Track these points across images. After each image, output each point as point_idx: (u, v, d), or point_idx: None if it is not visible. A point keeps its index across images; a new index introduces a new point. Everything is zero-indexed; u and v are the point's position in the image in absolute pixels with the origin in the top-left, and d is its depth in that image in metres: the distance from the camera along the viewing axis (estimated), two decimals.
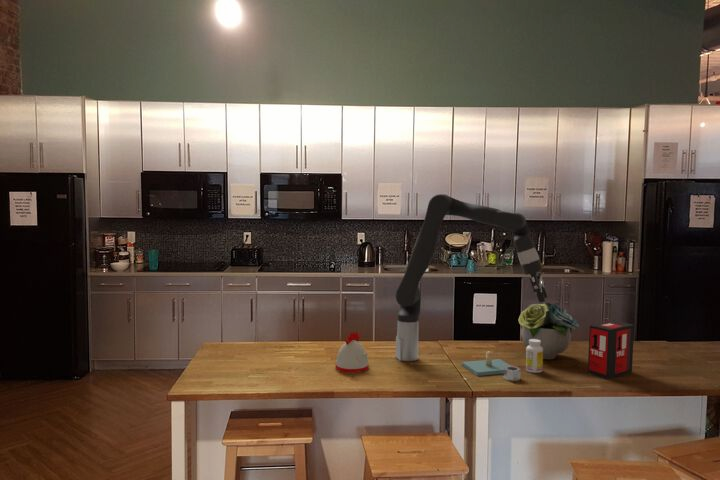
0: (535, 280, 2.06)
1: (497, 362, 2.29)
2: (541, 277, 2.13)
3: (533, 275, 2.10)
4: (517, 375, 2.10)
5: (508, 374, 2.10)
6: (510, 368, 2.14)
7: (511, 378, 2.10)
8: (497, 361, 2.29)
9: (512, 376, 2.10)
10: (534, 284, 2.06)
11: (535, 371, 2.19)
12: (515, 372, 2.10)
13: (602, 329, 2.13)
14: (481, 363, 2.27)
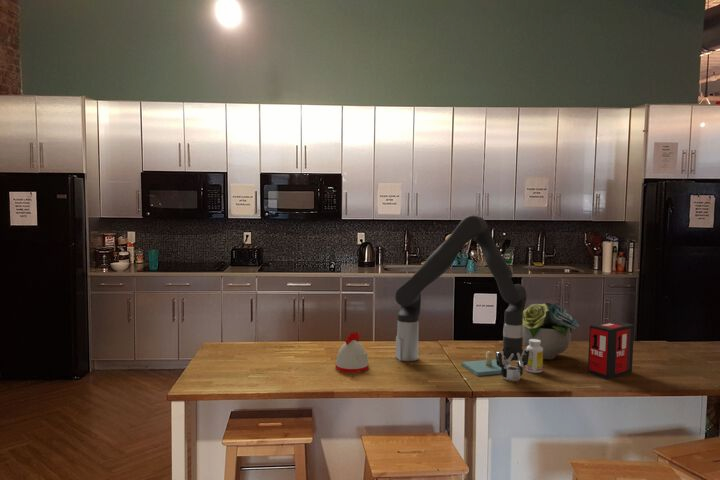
0: (498, 356, 2.10)
1: None
2: (516, 354, 2.10)
3: (504, 349, 2.11)
4: (517, 375, 2.10)
5: (508, 374, 2.10)
6: (510, 368, 2.14)
7: (511, 378, 2.10)
8: None
9: (512, 376, 2.10)
10: (497, 359, 2.11)
11: (535, 371, 2.19)
12: (515, 372, 2.10)
13: (602, 329, 2.13)
14: (481, 363, 2.27)
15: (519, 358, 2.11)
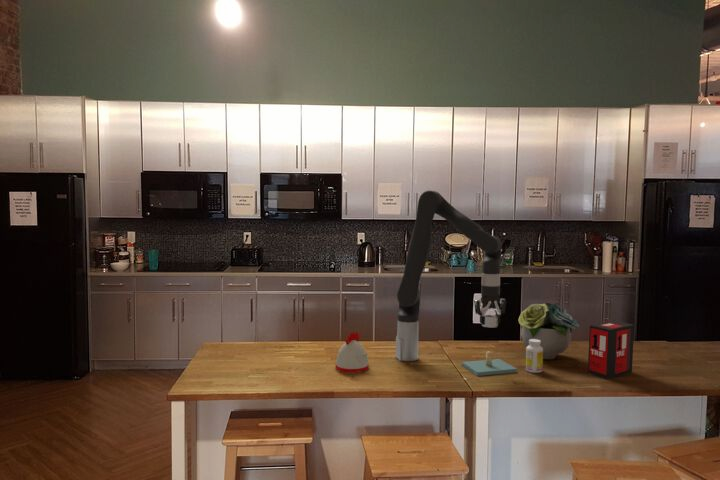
0: (476, 304, 2.20)
1: (497, 362, 2.29)
2: (494, 302, 2.21)
3: (482, 297, 2.21)
4: (494, 322, 2.20)
5: (486, 321, 2.21)
6: (488, 316, 2.25)
7: (489, 325, 2.20)
8: (497, 361, 2.29)
9: (490, 323, 2.20)
10: (475, 307, 2.21)
11: (535, 371, 2.19)
12: (492, 319, 2.20)
13: (602, 329, 2.13)
14: (481, 363, 2.27)
15: (496, 306, 2.21)
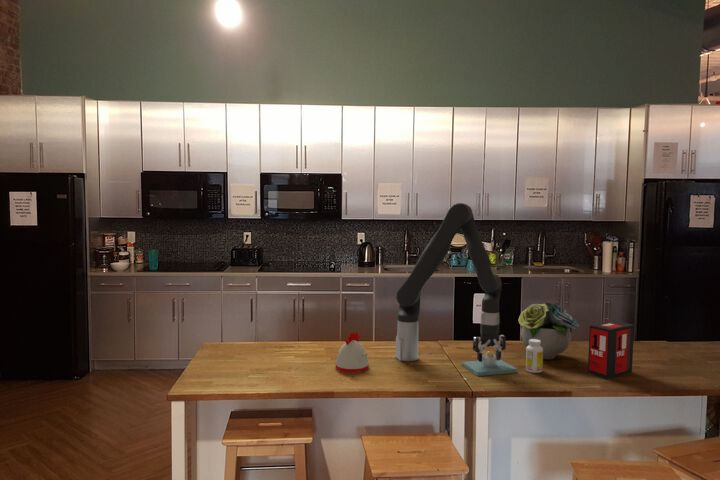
0: (475, 341, 2.21)
1: (497, 362, 2.29)
2: (493, 341, 2.22)
3: (481, 336, 2.22)
4: (493, 362, 2.21)
5: (485, 361, 2.22)
6: None
7: (488, 365, 2.21)
8: (497, 361, 2.29)
9: (489, 363, 2.21)
10: (474, 344, 2.22)
11: (535, 371, 2.19)
12: (491, 359, 2.21)
13: (602, 329, 2.13)
14: None
15: (496, 344, 2.23)
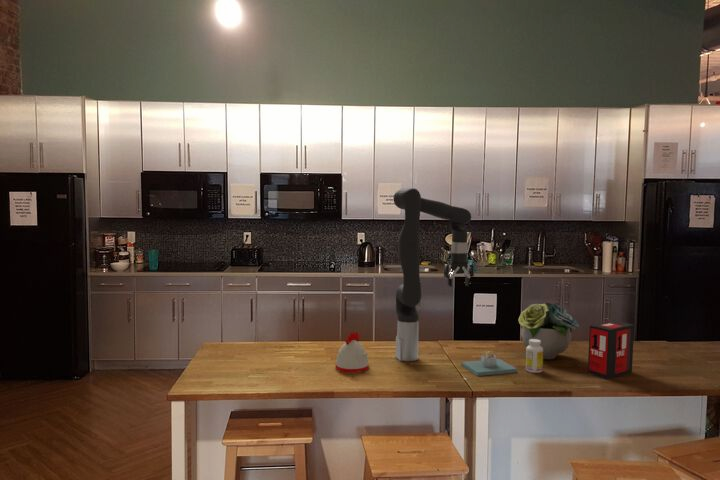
0: (445, 268, 2.48)
1: (497, 362, 2.29)
2: (462, 268, 2.49)
3: (451, 263, 2.49)
4: (493, 362, 2.21)
5: (485, 361, 2.22)
6: None
7: (488, 365, 2.21)
8: (497, 361, 2.29)
9: (489, 363, 2.21)
10: (445, 270, 2.49)
11: (535, 371, 2.19)
12: (491, 359, 2.21)
13: (602, 329, 2.13)
14: None
15: (465, 271, 2.49)
